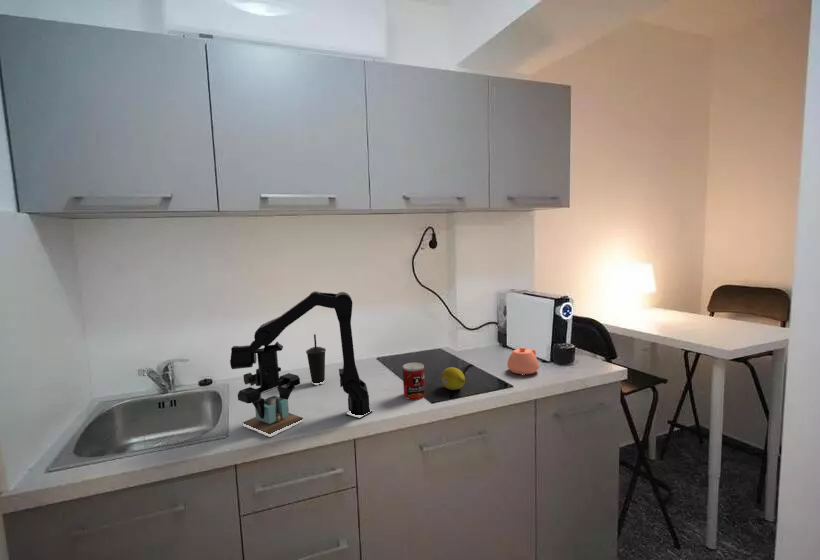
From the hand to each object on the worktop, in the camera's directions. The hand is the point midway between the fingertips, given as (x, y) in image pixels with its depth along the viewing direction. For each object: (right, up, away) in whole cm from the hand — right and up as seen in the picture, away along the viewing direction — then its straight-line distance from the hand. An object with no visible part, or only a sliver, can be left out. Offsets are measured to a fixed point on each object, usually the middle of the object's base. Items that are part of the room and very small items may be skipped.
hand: (272, 413), depth 127 cm
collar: (0, -1, 0) cm, 1 cm away
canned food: (+45, 0, +18) cm, 48 cm away
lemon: (+59, +1, +22) cm, 63 cm away
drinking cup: (+6, 0, +35) cm, 36 cm away
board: (0, -3, 0) cm, 4 cm away
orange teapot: (+89, +4, +38) cm, 97 cm away
